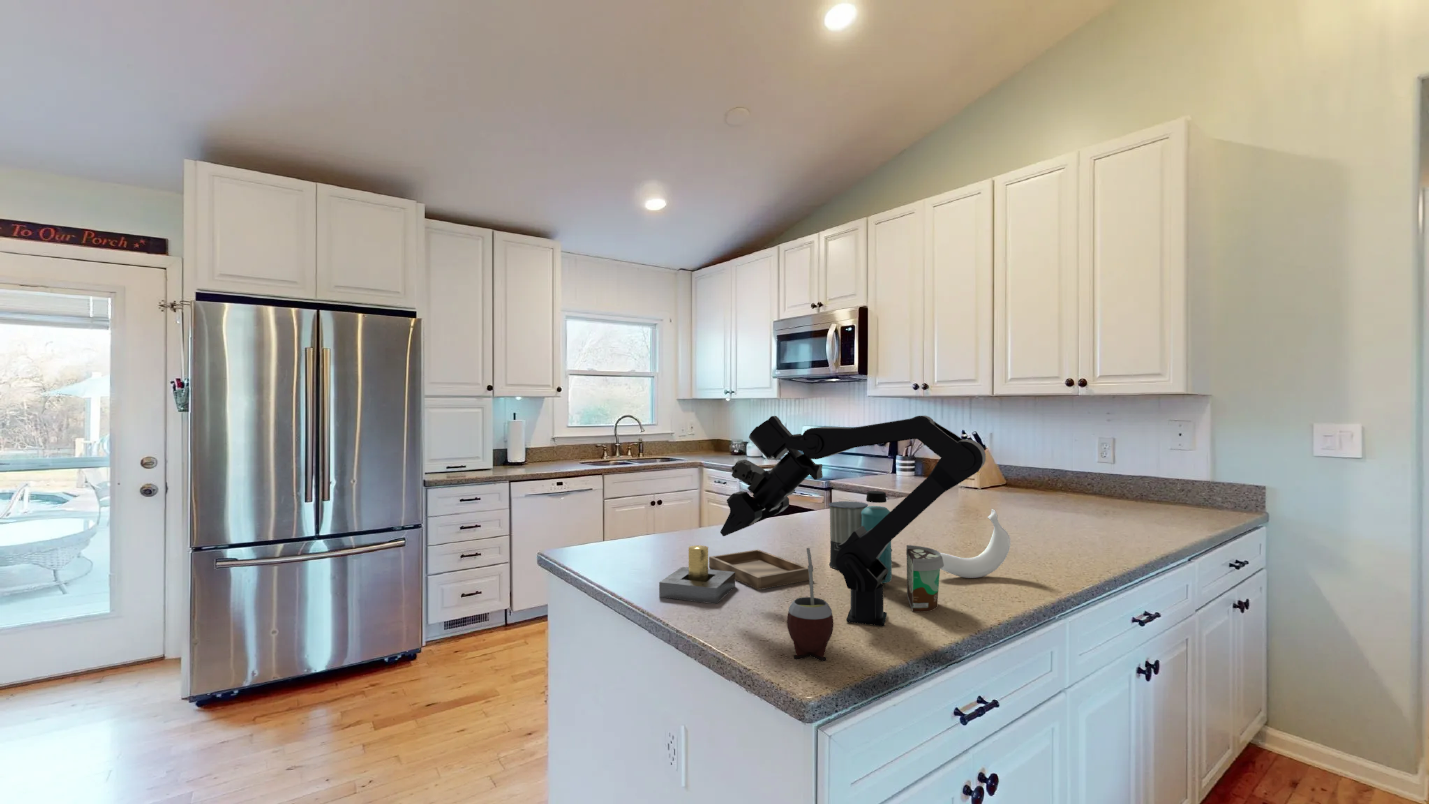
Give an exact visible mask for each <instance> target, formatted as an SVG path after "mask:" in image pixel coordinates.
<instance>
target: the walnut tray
mask: <svg viewBox="0 0 1429 804" xmlns="http://www.w3.org/2000/svg"><path fill="white" fill-rule="evenodd" d="M709 568H710V569H711V570H720V571H730V572H735V581H738V582H739V583H742V584H744V585H747V586H749V587H751V588H754V589H755V590H757V591H759V590H764V589H768V588H769V589H770V588H774V587H781V586H785V585H790V584H796V583H801V582H807V581H809V572H808V566H806V565H803V564H800V563H798V562H794V561H791V560H789V559H785V558H783V557H780V556H777V555H775V554H772V553H769V552H767V551H763V550H761V549H753V550H744V551H739V552H738V551H737V552H732V553H726V554H725V553H724V554H718V555H712V556H708V569H709Z"/></svg>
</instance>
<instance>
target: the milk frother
mask: <svg viewBox="0 0 1429 804" xmlns="http://www.w3.org/2000/svg"><path fill="white" fill-rule="evenodd" d="M828 506H829V531H830V532H829V535H830V536H829V537H830V539H829V540H830V541H829V542H830V546H829V547H830V551H829V552H830V553H829V554H830V555H829V556H830V557H829V563H828V565H829V567H831V568H832V569H834V570H838V569H837V566H836V558H835V557H836V554H837V552H838V551H839V550H840V549H841V548H839V547H838V545H840V544H841V543H843V542H844V541H846V540H847V539H848V538H849V537H850V535H851V534H852V533H853V532H854V531H855V530H857V529H858V528H860V527H861V523H862V515H861V512H862V510H863V509H865V508H866V507H868V506H869V504H868V503H866V502H862V501H861V502H860V501H843V500H841V501H833V502H829V503H828ZM891 553H893V549H892V548H891Z"/></svg>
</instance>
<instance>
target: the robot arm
mask: <svg viewBox="0 0 1429 804" xmlns="http://www.w3.org/2000/svg"><path fill="white" fill-rule="evenodd" d="M748 438H749V440H750V441H751V442H752V443H753V444H754V446H755V447H756V448H757V449H758V450H759V451H760V453H762V455H763V456H764V457H765V458H766V459H767V460H771V459H774V460H775V461H778V460H779V459H780V460H779V461H778V462H777V463H776V465H774V466H773V467H772V468H771V469H769V470H765V469H764V468H763V467H761V466H759V465H758V464H755V463H753V462H752V461H750V460H748V459H742V460H741V459H739V460H737V462H735V464H734V465H733V466H731V470H732V472H731V477H732V478H733V479H737V480H739V481H741V482H743V483H745V484H746V485H748V487H746V489H747V490H748V491H749V492H750V493H752V496H751V495H750V494H749V492H748V491H743V490H742V491H741V490H740V491H737V492H734V493H732V494H731V495H730V496H729V497H728V498H727V499H726V503H727V506H728V508H729V514H728V516H727V518H726V520H725V522H724V524H723V525H722V528H721V529H720V535H722V537H726V536H728V535H730V534H731V535H732V534H733V533H735V532H738V531H741V530H743V529H747V528H748V527H751V526H753V525H755V524H757V523H759V522H761V521H764V520H766V519H768V518H771V517H774V516H776V515H778V514H780V513H781V512H784V511H785V510H786V509H787V508H788V507H789V506H790V498H789V497H788V496H791V495H793V494H794V493H795V492H796V489H797V488H798V487H799V486H800V485H801V484H802V483H803V481H805V480H806V479H807V478H808V476H810V477H811V478H812V479H813V480H815V481H816V480H819V479H822V478H823V464H821V463H818V464H817V463H815V462H814V461H813V460H820V459H823V458H828V457H832V456H835V455H837V454H841V453H843V452H846V451H849V450H852V449H854V448H861V447H868V446H875V445H883V444H890V443H894V442H895V443H896V442H903V441H910V440H918V441H919V442H921V443H922V444H923V445H924V446H926V447H927V448H928V449H929V450H931V452H932V453H934V454H935V455H937V456H938V457H940V459H939V460H938V461H937V463H936V464H935V465H934V467H933V469H932V470H931V471H930V473H929V474H928V476H927V477H926V478H925V479H924V480H923V481H922V482H921V483H920V484H919V485H918V486H916V487H915V488H914V489H913V490H912V491H911V492H910V493H909V494H908V495H907V496H906V497H905V498H904V499H902V500H901V501H900V503H898V504H897V505H896V506H895V507H894V508H893V509H891V511H890V513H889V514H888V515H886V516H885V517H884V518H883V519H882V520H881V521H880V522H879V523H878V524H877V525H876V526H875V527H874V528H872V529H871V530H869V531H866V530H865V528H864V527H863V526H861V527H860V528H858V529H857V530H855V531H854V532H853V533H852V534H851V535H850V537H849V538H848V539H847V540H846V541H844V542H843V543H841V544H840V545H838V547H839V548H841V549H840V550H839V551H838V552H837V554H836V557H835V558H836V566H837V569H836V570H838V571H839V573H840V574H841V575H842V576H843V579H844V581H845V585H846V587H847V589H849V590H850V609H849V612H848V614H847V615H846V616H847V617H846V623H850V624H851V623H852V624H859V625H867V626H875V627H885V626H886V622H887V621H886V620H887V616H888V615H887V614H888V613H887V612H886V611H884V583H882V582H883V581H884V580H885V579H886V576H887V574H888V571H889V570H888V569H887V567H886V566H885V565H884V564H883V563H882V562H881V561H880V560H879V559H878V558H879V557H880V555H881V554H882V553H883V551H884V550H885V548H886V547H887V545H888V544H889V542H890V541H891V542H892V541H893V539H894V538H896V536H898V535H899V534H900V533H901V532H902V531H903V530H905V529H906V528H907V527H908V526H909V525H910V524H911V523H912V522H913V521H914V520H916V518H918V517H919V515H921V514H922V513H923V512H924V511H925V510H926V509H928V508H929V507H930V506H931V505H932V504H933V503H934V502H935V501H937V500H938V498H939V497H940V496H942V495H943V494H944V493H945V492H947V491H949V490H950V489H953V488H954V487H955V486H957V485H959V484H961V483H962V482H964V481H965V480H967V479H969V478H970V477H972V476H974V475H976V473H978V472H979V471H980V470H981V469H982V468H983V467H984V465H985V463H986V461H987V458H986V457H987V456H986V451H985V449H984V447H983V446H982V444H980V443H979V442H977V441H976V440H973V439H963V438H962V437H960V436H958V434H956V433H954V432H952V431H951V430H949V429H947V428H945V426H942V425H941V424H939V423H937V422H936V421H934V419H933V418H932V417H930V416H928V415H917V416H916V415H915V416H914V417H911V418H905V419H898V420H894V421H887V422H880V423H875V424H873V423H872V424H867V425H861V426H856V427H854V426H853V427H844V426H843V427H842V426H841V427H840V426H820V427H819V426H817V427H811V428H808V429H806V430H804V431H803V433H802V434H801V433H796V434H792V433H791V431H790V430H789V429H788V428H787V427H786V426H785V425H784V424H783V422H782V421H781V419H780V418H779V417H778V416H777V415H771V416H770V417H769V418H768V419H767V420H765V421H763V422H762V423H760V425H758V426H755V428H754V429H753V430H752V431H751V432H750V434H749V436H748ZM801 452H802V453H801Z"/></svg>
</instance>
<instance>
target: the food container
mask: <svg viewBox="0 0 1429 804" xmlns="http://www.w3.org/2000/svg"><path fill="white" fill-rule="evenodd" d="M905 550H906V553H905V554H906V597H907V600H908V602H909V605H910V609H911V611H912V612H914V613H924V612H925V613H926V612H927V613H928V612H931V610H932V611H935V610H937V608H938V600H939V599H938V598H939V589H940V587H939V586H940V574H941V569H940V568H942V567H943V566H944V563H943V559H942V556H941V554H940V553H941V552H940V551H938V550H937V549H935V548H930V547H925V546H922V545H912V544H907V545H906V549H905Z"/></svg>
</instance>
